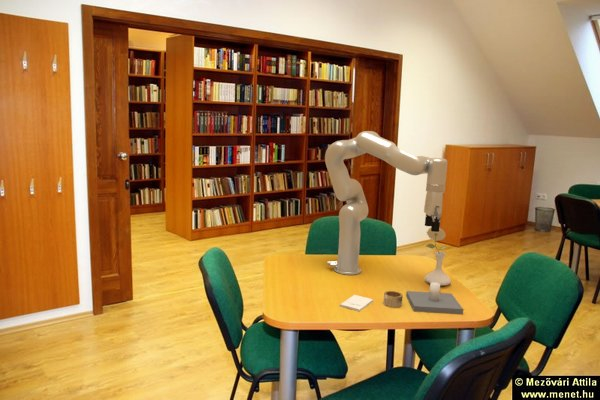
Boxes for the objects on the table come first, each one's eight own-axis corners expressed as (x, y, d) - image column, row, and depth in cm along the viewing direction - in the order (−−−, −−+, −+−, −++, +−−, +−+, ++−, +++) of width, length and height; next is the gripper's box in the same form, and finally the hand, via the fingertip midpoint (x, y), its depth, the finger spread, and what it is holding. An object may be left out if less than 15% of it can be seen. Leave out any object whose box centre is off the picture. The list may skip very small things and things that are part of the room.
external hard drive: (372, 303, 189) (359, 313, 179) (353, 298, 194) (339, 307, 183) (373, 299, 189) (359, 309, 179) (353, 294, 193) (339, 303, 183)
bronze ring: (384, 306, 184) (385, 296, 184) (382, 300, 191) (383, 290, 190) (402, 308, 184) (403, 297, 183) (399, 301, 191) (400, 291, 190)
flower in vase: (455, 284, 214) (461, 228, 210) (443, 290, 206) (449, 232, 202) (428, 276, 223) (433, 223, 219) (415, 281, 215) (420, 226, 210)
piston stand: (413, 311, 182) (415, 289, 180) (406, 295, 197) (408, 275, 196) (462, 314, 181) (465, 292, 180) (451, 298, 197) (453, 278, 195)
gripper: (421, 184, 210) (417, 223, 213) (432, 191, 193) (428, 233, 196) (438, 185, 210) (434, 224, 213) (451, 191, 193) (446, 234, 196)
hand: (431, 228), depth 204 cm, fingers open, 9 cm apart
